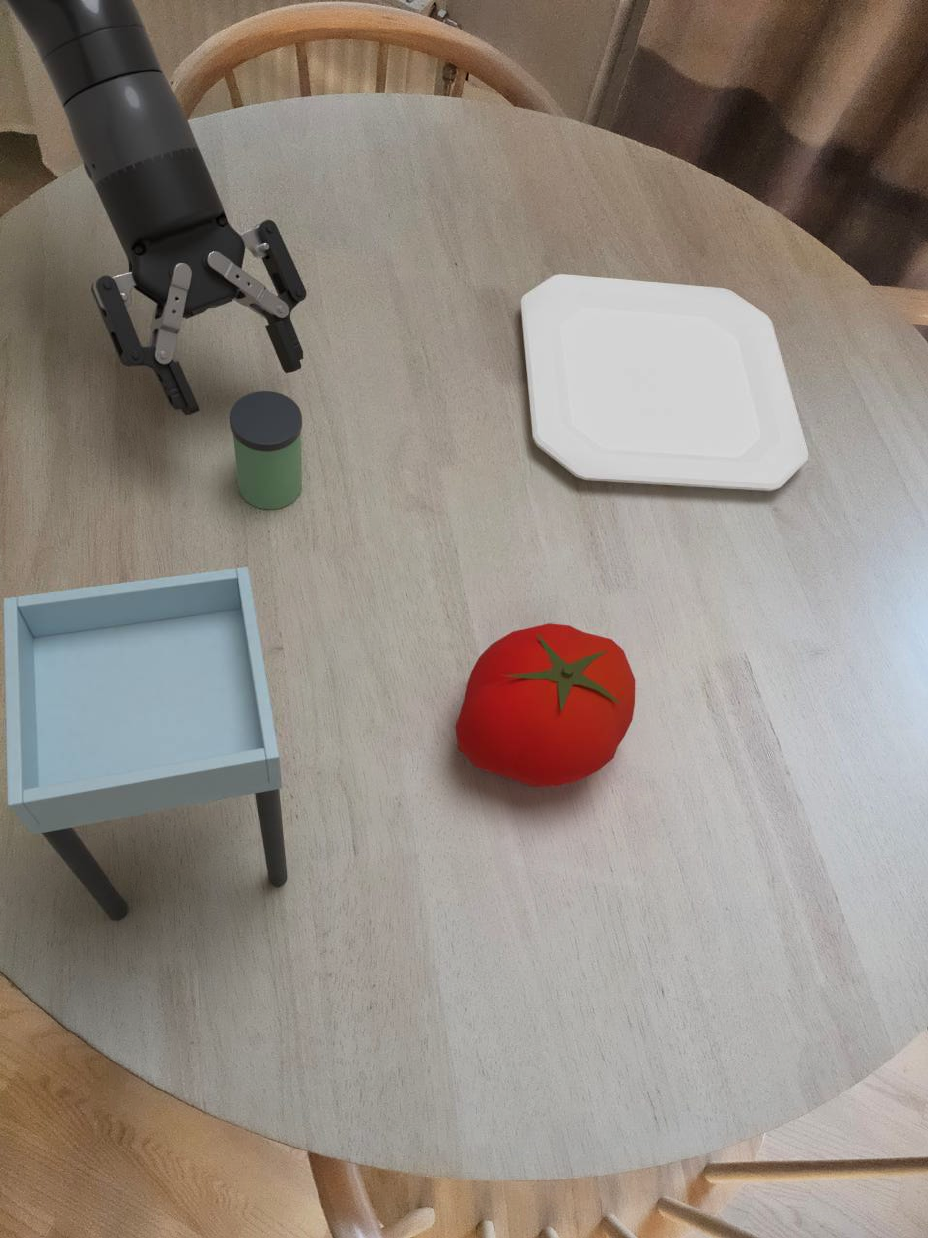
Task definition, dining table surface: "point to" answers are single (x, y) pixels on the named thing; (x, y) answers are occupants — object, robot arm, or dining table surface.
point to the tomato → (547, 705)
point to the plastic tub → (267, 448)
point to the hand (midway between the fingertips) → (244, 391)
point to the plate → (658, 384)
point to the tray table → (138, 711)
